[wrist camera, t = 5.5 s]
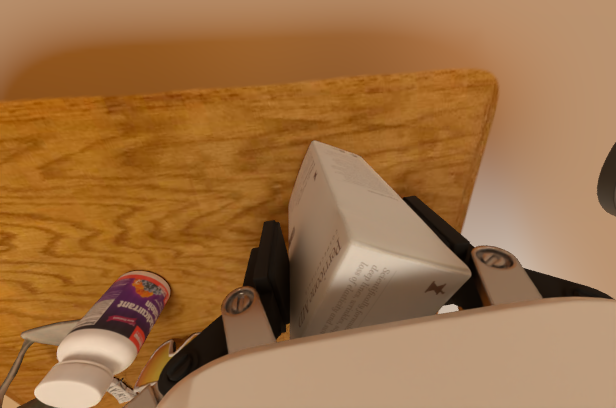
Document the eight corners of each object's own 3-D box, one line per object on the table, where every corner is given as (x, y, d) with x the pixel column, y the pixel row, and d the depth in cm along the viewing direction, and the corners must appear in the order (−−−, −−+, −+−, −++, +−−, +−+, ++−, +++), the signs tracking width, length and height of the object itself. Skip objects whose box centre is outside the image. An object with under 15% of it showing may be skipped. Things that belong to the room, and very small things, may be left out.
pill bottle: (182, 293, 25) (129, 399, 16) (144, 309, 26) (73, 421, 17) (146, 261, 22) (61, 367, 14) (105, 281, 23) (-1, 393, 14)
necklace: (124, 399, 34) (154, 394, 34) (121, 405, 33) (151, 399, 33) (95, 379, 31) (128, 373, 31) (91, 385, 30) (125, 378, 30)
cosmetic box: (310, 137, 16) (343, 232, 5) (364, 156, 17) (485, 269, 6) (286, 207, 19) (277, 366, 8) (334, 220, 20) (384, 378, 9)
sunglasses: (231, 318, 27) (224, 365, 23) (272, 360, 36) (272, 399, 32) (127, 346, 28) (102, 396, 24) (192, 380, 37) (182, 421, 33)
